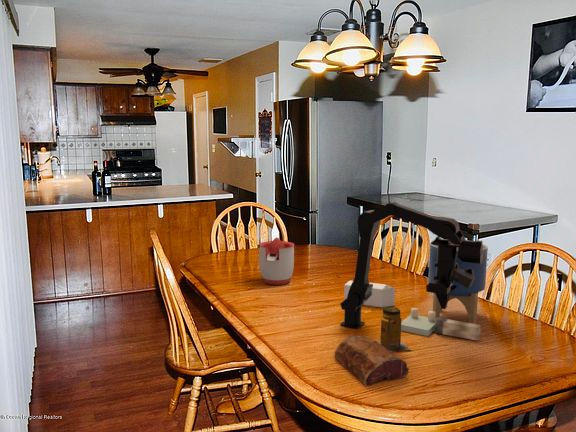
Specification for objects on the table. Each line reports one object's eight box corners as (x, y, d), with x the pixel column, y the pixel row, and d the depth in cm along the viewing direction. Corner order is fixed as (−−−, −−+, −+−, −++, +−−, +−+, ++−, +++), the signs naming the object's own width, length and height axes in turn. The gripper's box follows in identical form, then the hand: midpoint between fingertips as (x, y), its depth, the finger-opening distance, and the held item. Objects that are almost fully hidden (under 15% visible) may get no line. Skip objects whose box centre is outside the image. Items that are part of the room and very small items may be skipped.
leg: (433, 332, 169) (434, 319, 168) (436, 329, 172) (437, 316, 171) (477, 341, 162) (478, 327, 161) (479, 337, 165) (480, 324, 165)
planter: (415, 312, 190) (418, 242, 186) (455, 305, 198) (459, 237, 194) (453, 330, 173) (457, 252, 169) (495, 321, 181) (500, 247, 177)
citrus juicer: (253, 286, 222) (253, 240, 219) (264, 276, 238) (264, 233, 235) (288, 289, 218) (289, 242, 215) (297, 278, 235) (298, 235, 232)
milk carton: (343, 302, 201) (392, 309, 193) (343, 284, 200) (393, 290, 192) (348, 297, 207) (396, 303, 200) (349, 280, 206) (396, 285, 199)
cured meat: (371, 341, 163) (371, 320, 162) (421, 374, 140) (422, 350, 139) (320, 352, 156) (320, 330, 155) (365, 388, 133) (365, 363, 132)
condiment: (375, 343, 161) (377, 306, 159) (401, 341, 163) (403, 304, 161) (384, 352, 154) (385, 314, 152) (411, 351, 155) (412, 312, 154)
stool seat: (428, 336, 167) (428, 321, 166) (398, 330, 172) (399, 315, 171) (439, 325, 177) (439, 311, 176) (410, 319, 182) (411, 305, 181)
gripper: (465, 270, 146) (462, 322, 149) (480, 257, 162) (477, 305, 164) (426, 264, 152) (424, 315, 155) (445, 253, 168) (442, 299, 170)
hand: (443, 308), depth 161 cm, fingers closed
